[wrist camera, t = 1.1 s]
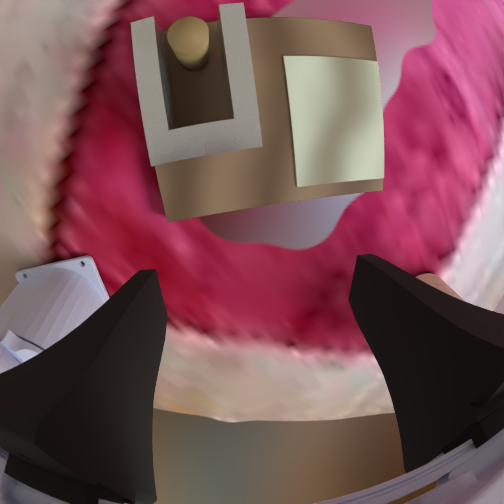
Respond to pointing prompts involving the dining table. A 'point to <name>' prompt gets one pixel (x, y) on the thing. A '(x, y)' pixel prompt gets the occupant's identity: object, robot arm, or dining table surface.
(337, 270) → the dining table surface
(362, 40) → the board
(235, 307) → the dining table surface
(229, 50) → the c link
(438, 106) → the dining table surface
